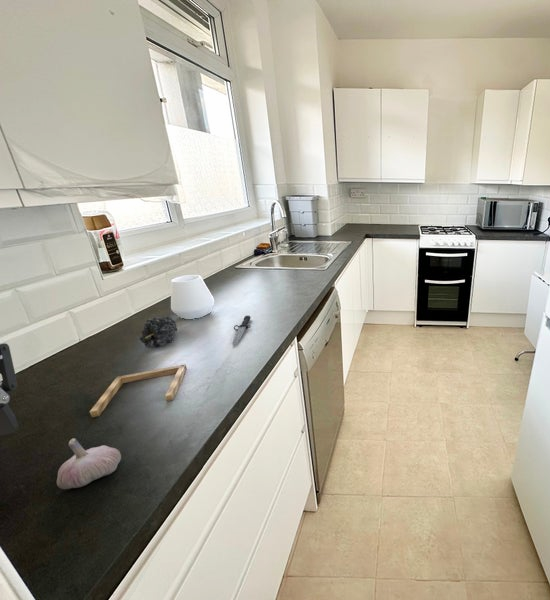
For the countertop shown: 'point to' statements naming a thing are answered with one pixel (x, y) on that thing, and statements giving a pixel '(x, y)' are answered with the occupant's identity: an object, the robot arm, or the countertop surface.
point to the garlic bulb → (87, 465)
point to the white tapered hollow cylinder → (190, 297)
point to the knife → (241, 329)
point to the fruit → (158, 331)
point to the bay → (120, 380)
